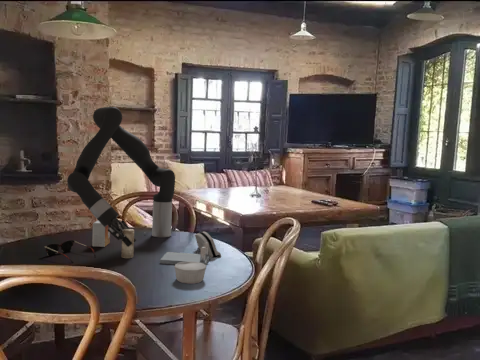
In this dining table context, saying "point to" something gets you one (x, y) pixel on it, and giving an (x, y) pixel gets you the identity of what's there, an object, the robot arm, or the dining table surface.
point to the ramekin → (190, 272)
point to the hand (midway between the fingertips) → (132, 243)
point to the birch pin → (127, 251)
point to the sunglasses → (62, 248)
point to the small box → (100, 235)
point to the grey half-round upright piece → (206, 237)
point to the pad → (187, 256)
